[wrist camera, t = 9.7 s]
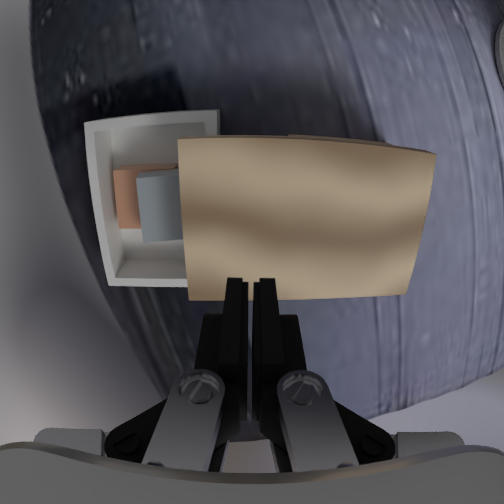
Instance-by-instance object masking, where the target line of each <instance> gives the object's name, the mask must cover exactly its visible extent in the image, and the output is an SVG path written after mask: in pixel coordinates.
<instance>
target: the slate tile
mask: <svg viewBox="0 0 504 504" xmlns="http://www.w3.org/2000/svg"><path fill="white" fill-rule="evenodd" d="M136 183H137V193H138V203H139V212H140V221H141V229H142V236H143V243H148V242H159V241H170V240H182V239H183V229H182V215H181V200H180V183H179V169H170V170H158V171H148V172H139V174H138V176H137V178H136Z"/></svg>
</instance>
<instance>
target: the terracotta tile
mask: <svg viewBox="0 0 504 504" xmlns="http://www.w3.org/2000/svg"><path fill="white" fill-rule="evenodd" d="M170 169H178V163H166V164H136V165H121V166H119V167H118V168H116V169H115V170H113V177H114V189H115V199H116V208H117V217H118V225H119V229H141V221H140V212H139V203H138V193H137V183H136V178H137V176H138V174H139V172H148V171H158V170H170Z"/></svg>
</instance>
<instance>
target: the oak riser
mask: <svg viewBox="0 0 504 504" xmlns="http://www.w3.org/2000/svg"><path fill="white" fill-rule="evenodd" d="M435 161H436V154H434V153H431V152H429V151H426V150H421V149H414V148H408V147H401V146H394V145H392V144H389V143H385V142H377V141H369V140H360V139H350V138H339V137H327V136H313V135H295V134H288V136H270V135H206V136H182V137H180V138H179V139H178V162H179V183H180V200H181V215H182V229H183V242H184V253H185V264H186V275H187V284H188V294H189V300H225V291H226V283H227V277H233V278H243V282H249V289H248V300H253V283H254V282H259V279H260V278H275V281H276V290H277V299H278V300H294V299H326V298H350V297H369V296H387V295H402V294H406V292H407V289H408V285H409V282H410V278H411V275H412V271H413V268H414V264H415V260H416V256H417V253H418V249H419V244H420V240H421V236H422V232H423V227H424V223H425V218H426V213H427V208H428V203H429V198H430V192H431V187H432V181H433V174H434V168H435Z"/></svg>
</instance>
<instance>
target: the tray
mask: <svg viewBox="0 0 504 504" xmlns="http://www.w3.org/2000/svg"><path fill="white" fill-rule="evenodd" d="M84 128H85V142H86V153H87V163H88V173H89V181H90V189H91V196H92V203H93V209H94V215H95V221H96V227H97V233H98V238H99V243H100V248H101V253H102V258H103V263H104V267H105V272H106V276H107V280H108V284H109V286H150V287H188V284H187V275H186V264H185V253H184V242H183V239H182V240H170V241H159V242H148V243H143V236H142V229H119V225H118V217H117V208H116V199H115V189H114V177H113V170H115V169H116V168H118V167H119V166H121V165H136V164H166V163H178V169H179V162H178V139H179V138H180V137H182V136H206V135H220V109H217V110H189V111H172V112H158V113H147V114H137V115H128V116H120V117H112V118H105V119H99V120H94V121H90V122H85V123H84Z"/></svg>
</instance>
